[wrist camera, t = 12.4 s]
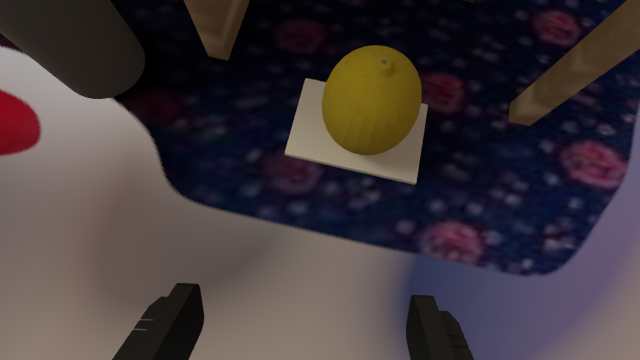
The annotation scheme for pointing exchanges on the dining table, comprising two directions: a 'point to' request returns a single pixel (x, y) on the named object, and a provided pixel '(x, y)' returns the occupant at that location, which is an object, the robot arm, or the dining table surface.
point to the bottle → (76, 43)
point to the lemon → (371, 100)
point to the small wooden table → (536, 101)
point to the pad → (320, 147)
